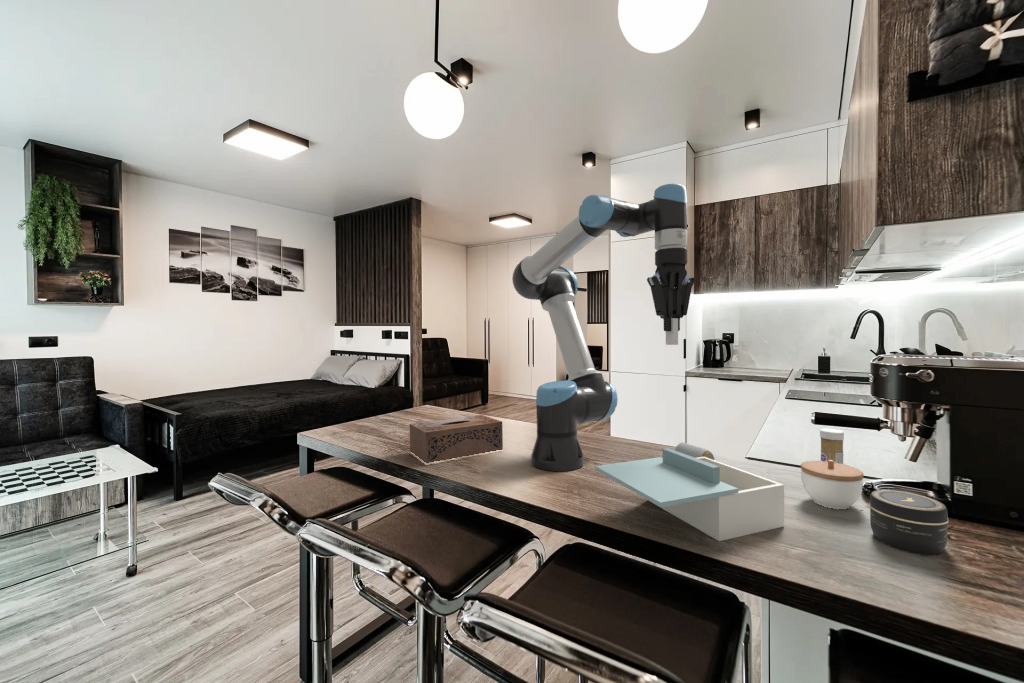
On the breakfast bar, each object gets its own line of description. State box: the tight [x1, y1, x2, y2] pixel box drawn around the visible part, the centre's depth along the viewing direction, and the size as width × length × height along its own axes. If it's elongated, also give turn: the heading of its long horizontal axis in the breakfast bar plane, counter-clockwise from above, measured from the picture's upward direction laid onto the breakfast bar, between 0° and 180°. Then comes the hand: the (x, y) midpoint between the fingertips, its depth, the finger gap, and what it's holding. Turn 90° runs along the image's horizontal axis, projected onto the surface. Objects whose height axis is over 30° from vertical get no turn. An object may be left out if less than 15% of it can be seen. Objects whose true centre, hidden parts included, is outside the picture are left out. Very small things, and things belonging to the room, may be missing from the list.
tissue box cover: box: [409, 414, 504, 463], centre depth 134 cm, size 26×14×10 cm, turn 122°
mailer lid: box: [594, 447, 738, 508], centre depth 82 cm, size 21×17×4 cm
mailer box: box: [647, 457, 785, 542], centre depth 87 cm, size 20×16×8 cm
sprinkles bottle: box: [819, 427, 845, 464], centre depth 100 cm, size 5×5×14 cm
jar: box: [869, 489, 949, 556], centre depth 73 cm, size 10×10×8 cm
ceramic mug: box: [674, 441, 715, 460], centre depth 111 cm, size 11×8×8 cm
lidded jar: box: [800, 460, 864, 510], centre depth 90 cm, size 11×11×9 cm
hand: (671, 344), depth 104 cm, fingers closed
